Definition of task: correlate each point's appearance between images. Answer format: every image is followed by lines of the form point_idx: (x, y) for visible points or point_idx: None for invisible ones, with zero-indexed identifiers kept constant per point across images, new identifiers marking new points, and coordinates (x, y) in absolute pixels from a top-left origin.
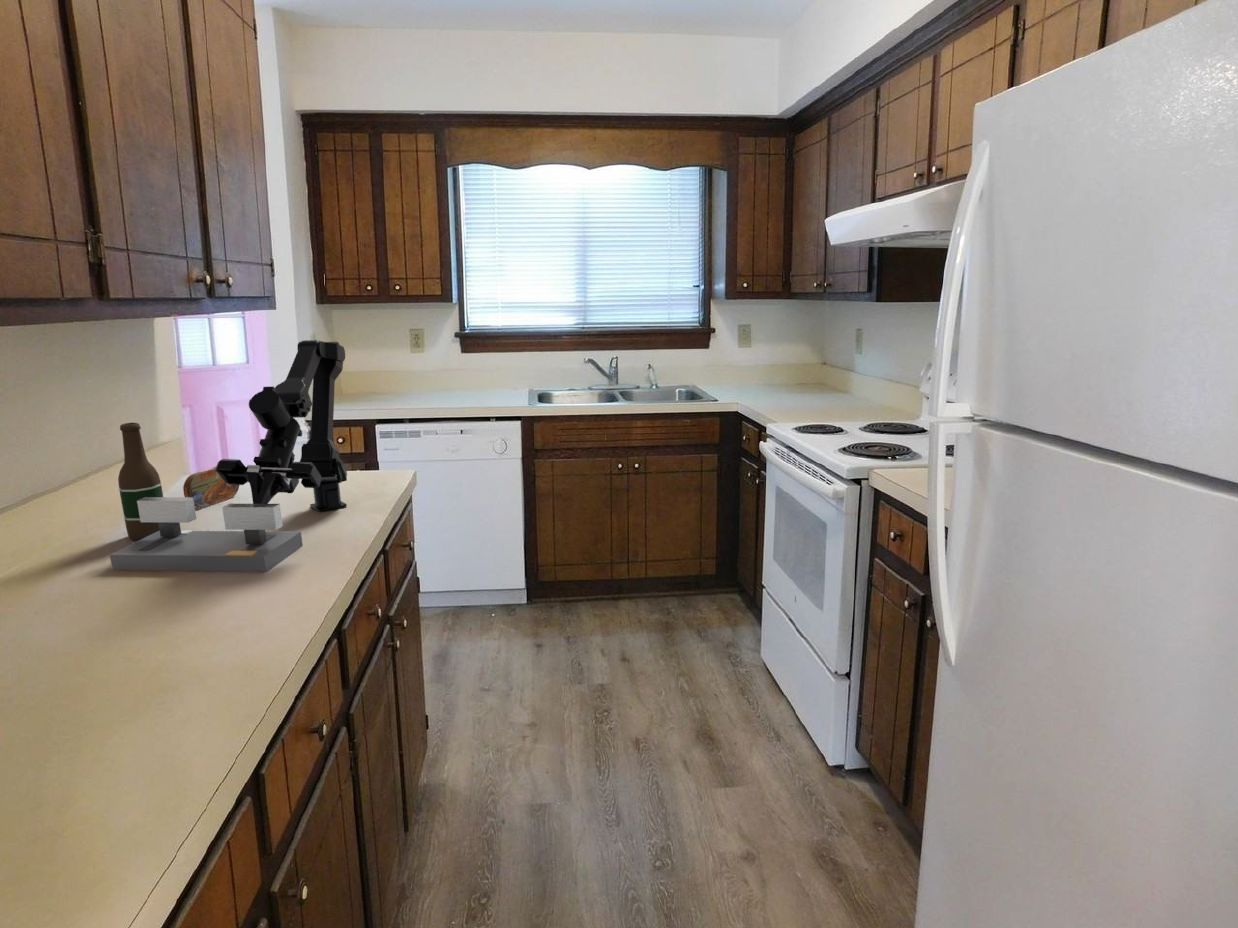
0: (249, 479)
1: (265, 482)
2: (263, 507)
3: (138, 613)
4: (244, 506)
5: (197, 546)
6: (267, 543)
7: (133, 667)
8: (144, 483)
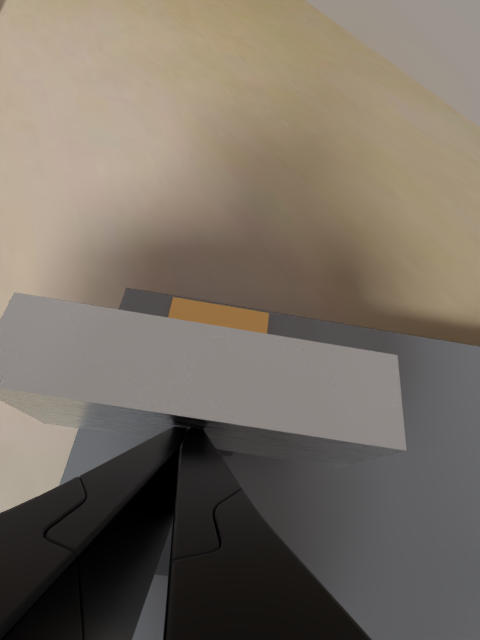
0: (330, 612)
1: (15, 552)
2: (90, 306)
3: (326, 149)
4: (241, 346)
5: (436, 430)
6: None
7: (220, 27)
8: None
